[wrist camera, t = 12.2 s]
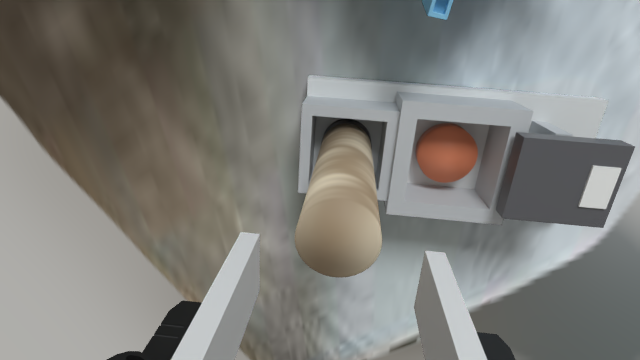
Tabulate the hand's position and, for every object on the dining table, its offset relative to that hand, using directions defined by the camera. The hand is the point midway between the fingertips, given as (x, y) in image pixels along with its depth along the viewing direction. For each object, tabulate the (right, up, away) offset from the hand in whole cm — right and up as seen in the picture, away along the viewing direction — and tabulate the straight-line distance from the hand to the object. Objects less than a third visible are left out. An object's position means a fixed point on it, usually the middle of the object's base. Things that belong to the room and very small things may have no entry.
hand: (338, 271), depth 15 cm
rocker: (+16, +4, +12) cm, 20 cm away
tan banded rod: (+1, +7, +17) cm, 18 cm away
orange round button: (+9, +6, +16) cm, 20 cm away
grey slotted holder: (+10, +7, +18) cm, 22 cm away
